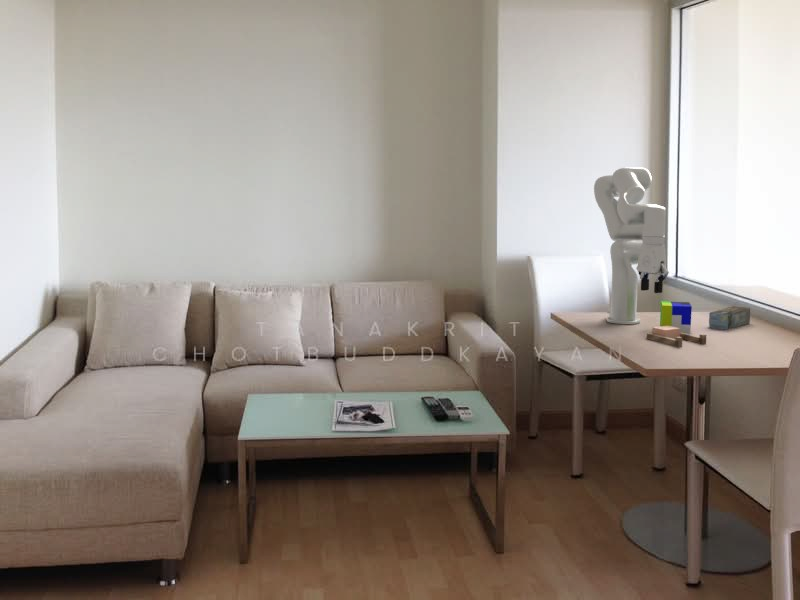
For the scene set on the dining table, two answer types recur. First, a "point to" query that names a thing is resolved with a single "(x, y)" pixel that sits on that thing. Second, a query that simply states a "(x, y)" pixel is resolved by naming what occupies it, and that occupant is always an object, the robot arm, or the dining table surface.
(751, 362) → the dining table surface
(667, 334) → the block
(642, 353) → the dining table surface
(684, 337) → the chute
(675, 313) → the puzzle toy
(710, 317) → the beverage carton
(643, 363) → the dining table surface
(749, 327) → the dining table surface
